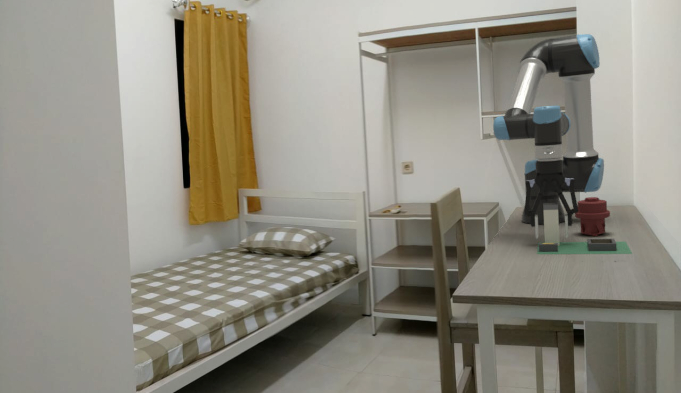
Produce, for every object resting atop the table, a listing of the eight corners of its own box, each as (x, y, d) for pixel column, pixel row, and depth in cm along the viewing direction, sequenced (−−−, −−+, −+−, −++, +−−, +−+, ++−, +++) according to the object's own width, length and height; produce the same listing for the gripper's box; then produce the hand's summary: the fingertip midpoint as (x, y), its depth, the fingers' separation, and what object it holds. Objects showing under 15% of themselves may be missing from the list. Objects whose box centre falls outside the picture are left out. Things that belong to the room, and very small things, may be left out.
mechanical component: (606, 233, 196) (613, 239, 186) (573, 234, 198) (578, 241, 188) (605, 195, 194) (612, 199, 185) (572, 196, 196) (577, 201, 187)
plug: (545, 243, 184) (543, 203, 183) (559, 242, 183) (557, 202, 181) (544, 245, 180) (543, 205, 179) (559, 245, 179) (558, 204, 178)
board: (538, 245, 186) (537, 235, 185) (625, 244, 178) (625, 233, 178) (537, 257, 171) (536, 246, 170) (632, 257, 163) (632, 245, 163)
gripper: (511, 162, 179) (515, 240, 181) (587, 158, 172) (590, 239, 174) (513, 160, 186) (516, 235, 188) (586, 156, 179) (588, 234, 181)
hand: (551, 237), depth 181 cm, fingers open, 8 cm apart
